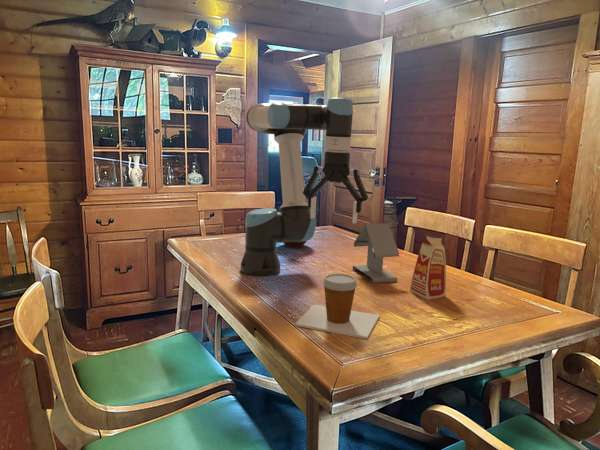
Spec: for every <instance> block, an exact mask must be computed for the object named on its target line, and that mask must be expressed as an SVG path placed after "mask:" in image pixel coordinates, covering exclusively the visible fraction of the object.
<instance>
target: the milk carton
mask: <svg viewBox="0 0 600 450" xmlns="http://www.w3.org/2000/svg"><path fill="white" fill-rule="evenodd" d="M442 240H443V238H435V237H431V236H428V235H426V239H425V240H424V241H423V242H422V244H421V247H420V249H419V252H418V255H417V258H416V262H415V266H414V270H413V273H412V278H411V282H410V286H409V292H411V293H413V294H415V295H417V296H419V297H421V298H423V299H425V300H426V301H428V300H433V299H437V298H438V299H439V298H442V297H443V298H444V297H446V296H447V295H446V294H447V263H446V262H447V261H446V249H445V246H444V244H443V243H442Z"/></svg>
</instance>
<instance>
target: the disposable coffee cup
mask: <svg viewBox="0 0 600 450" xmlns="http://www.w3.org/2000/svg"><path fill="white" fill-rule="evenodd" d="M322 284H323V286H324V287H323V288H324V298H325V299H324V300H325V306H326V313H327V320H328V321H330V322H333V323H339V324H340V323H346V322H348V321H349V319H350V314H351V311H352V307H353V303H354V302H353V301H354V297H355V291H356V288H357V286H358V282H357V280H356V277H355V276H353V275H350V274H345V273H330V274H327V275H325V276H324V279H323V280H322Z"/></svg>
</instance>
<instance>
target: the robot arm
mask: <svg viewBox="0 0 600 450" xmlns="http://www.w3.org/2000/svg"><path fill="white" fill-rule="evenodd" d="M353 109H354V103H353V100H352V99H351V98H347V97H329V98H328V100H327V104H326V105H322V104H321V105H319V104H299V103H289V102H288V103H287V102H272V103H269V102H262V103H257V104H254V105H252V106H251V107H250V108H249V109H248V110H247V111H246V117H245V119H246V120H245V121H246V123H247V125H248V127H249V128H250V129H252V130H253V131H255V132H256V133H260V134H263V135H266V134H267V135H273V139H274V141H275V142H276V143H277V144H278V154H279V166H280V168H279V169H280V180H281V181H280V182H281V183H280V184H281V197H282V204H281V205H280V207H279V209H278V210H279V211H278V210H277V209H276V208H273V207H269V208H267V207H265V208H256V209H253V210H250V211H249V212H247V213H246V215H245V223H244V226H245V228H244V229H245V237H244V239H245V240H244V241H245V242H244V243H245V249H244V253H243V255H242V260H241V263H240V272H241V271H242V272H241V273H243V274H245V273H246V275H248V274H249V275H250V276H255V275H256V276H257V277H259V276H260V277H261V276H263V277H264V276H273V275H277V274H279V273H281V263H280V260H279V255H278V252H277V244H279V243H281V244H282V243H283V242H301V241H307V242H309V241H310V240H311V239H312V238H313V237H314V235H315V232H316V226H317V217H316V210H317V196H316V195H317V193H318V192H319V191H320V190H321V189H322V188H323V187H324V186H325V185H326V184H327V182H330V183H337V184H338V183H339V184H340V183H342V184H343V185H344V186H345V187H346V189H347V190H348V191H349V193H350V194H351V196H352V197H353V199H354V200H355V201H354V202H353V208H352V209H353V210H352V224H357V223H358V215H359V214H360V213H361V212H362V203H363V202H365V201H367V200H368V199H369V195H368V193H367V191H366V188H365V186H364V183H363V181H362V179H361V177H360V176H361V175H360V169H359V168H355V169H354V168H353V169H351V168H350V159H351V158H350V157H351V154H350V152H349V151H351V145H352V144H351V142H352V141H351V140H352V129H353V128H352V126H353V115H354V110H353ZM308 130H311V131H312V130H317V131H325V144H324V145H325V147H324V148H325V150H326V151H325V152H324V162H323V163H324V165H323V166H320V165H314V167H313V172H312V174H311V175H310V178H309V180H308V182H307V183H306V186H305V185H304V173H303V172H304V171H303V159H302V149H301V148H302V146H301V145H302V144H301V142H302V141H303V140H304V138H305V137H304V136H305V135H306V134H307V133H308ZM322 172H323V174H324V177H322V179H321V180H320V181H319V182H318V183H317V185H315V186H314V184H315V183H316V181H317V179H318V178H319V174H321V173H322ZM350 174H351V176H352V177H353V179H354V182H355V184H356V187H357V189H358V191H357V189H356V188H355V186H354V185H353V184H352V182H351V180H350V179H349V175H350ZM313 186H314V187H313ZM305 197H307V200H308V204H307V203H306V202H305ZM283 244H284V243H283Z"/></svg>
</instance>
